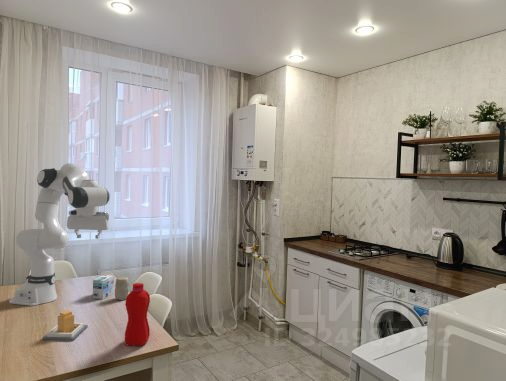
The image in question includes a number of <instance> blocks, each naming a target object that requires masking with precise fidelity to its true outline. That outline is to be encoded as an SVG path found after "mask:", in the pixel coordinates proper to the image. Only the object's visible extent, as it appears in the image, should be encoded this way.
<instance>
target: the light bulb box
mask: <svg viewBox="0 0 506 381" xmlns="http://www.w3.org/2000/svg"><path fill="white" fill-rule="evenodd" d="M114 278H115V275H109V274H103V275H101V276H99V277H95V278H94V279H92V299H97V300H105V299H106V298H108V297H110V296H112V295H113V293H114V294H115V285H114V284H115V279H114Z"/></svg>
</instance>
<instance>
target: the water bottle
mask: <svg viewBox="0 0 506 381" xmlns="http://www.w3.org/2000/svg"><path fill="white" fill-rule="evenodd" d="M150 303H151V297H150V294H149V292H148V291H147V290H146V289H145V286H144V283H143V282H135V283H132V291H129V292H128V296H127V298H126V299H125V303H124V305H125V309H126V313H127V324H126V327H125V331H124V343H125V344H126V345H127V346H135V347H136V346H137V347H138V346H143V345H145V344H146V343H147V342H148V340H149V338H150V324H149V320H148V311H149V307H150Z"/></svg>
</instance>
